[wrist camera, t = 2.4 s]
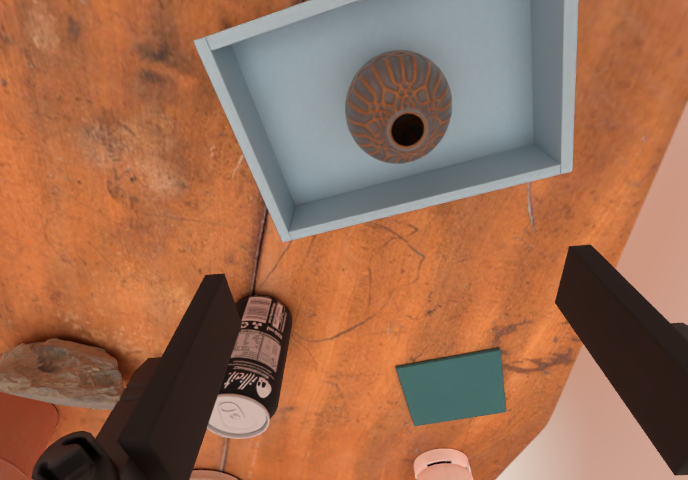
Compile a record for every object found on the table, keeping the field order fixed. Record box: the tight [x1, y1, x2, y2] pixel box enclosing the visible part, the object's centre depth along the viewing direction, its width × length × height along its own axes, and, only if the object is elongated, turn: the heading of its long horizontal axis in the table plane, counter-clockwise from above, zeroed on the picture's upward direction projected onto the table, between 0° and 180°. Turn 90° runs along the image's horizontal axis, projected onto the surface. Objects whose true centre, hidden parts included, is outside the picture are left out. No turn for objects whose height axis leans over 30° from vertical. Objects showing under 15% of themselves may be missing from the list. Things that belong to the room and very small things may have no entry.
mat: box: [396, 348, 506, 426], centre depth 46 cm, size 12×12×1 cm
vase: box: [345, 50, 452, 164], centre depth 24 cm, size 7×7×9 cm
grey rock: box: [0, 338, 125, 410], centre depth 40 cm, size 14×10×10 cm
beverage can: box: [207, 295, 292, 439], centre depth 35 cm, size 7×7×12 cm
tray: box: [194, 0, 578, 242], centre depth 26 cm, size 22×15×5 cm
